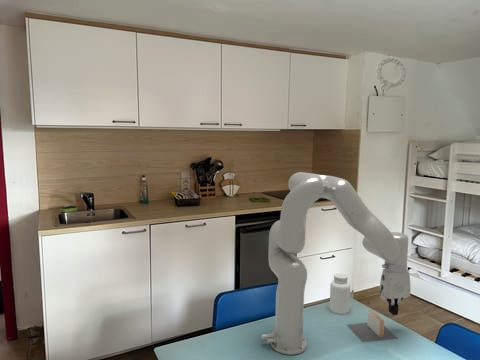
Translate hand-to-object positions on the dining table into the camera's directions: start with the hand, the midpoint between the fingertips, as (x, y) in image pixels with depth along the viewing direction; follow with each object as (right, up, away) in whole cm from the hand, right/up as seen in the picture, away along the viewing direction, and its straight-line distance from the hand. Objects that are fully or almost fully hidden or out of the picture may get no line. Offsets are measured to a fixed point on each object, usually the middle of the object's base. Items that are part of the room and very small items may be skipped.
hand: (393, 313), depth 138 cm
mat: (-8, -7, -1) cm, 11 cm away
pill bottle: (-16, -5, +16) cm, 23 cm away
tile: (-7, -6, -1) cm, 9 cm away
